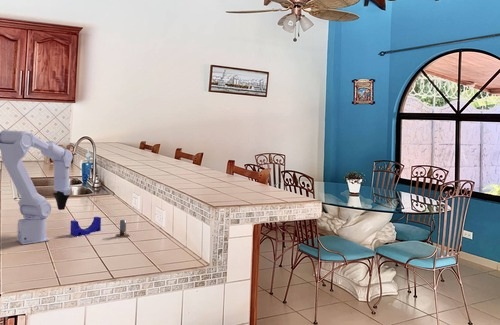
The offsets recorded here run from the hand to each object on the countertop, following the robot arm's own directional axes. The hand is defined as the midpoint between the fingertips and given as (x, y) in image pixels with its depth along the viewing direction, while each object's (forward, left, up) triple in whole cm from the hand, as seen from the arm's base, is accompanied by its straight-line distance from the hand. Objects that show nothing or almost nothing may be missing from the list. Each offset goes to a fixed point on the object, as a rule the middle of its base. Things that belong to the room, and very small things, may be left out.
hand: (61, 209), depth 167 cm
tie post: (+18, -20, -9) cm, 29 cm away
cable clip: (+8, -8, -10) cm, 15 cm away
